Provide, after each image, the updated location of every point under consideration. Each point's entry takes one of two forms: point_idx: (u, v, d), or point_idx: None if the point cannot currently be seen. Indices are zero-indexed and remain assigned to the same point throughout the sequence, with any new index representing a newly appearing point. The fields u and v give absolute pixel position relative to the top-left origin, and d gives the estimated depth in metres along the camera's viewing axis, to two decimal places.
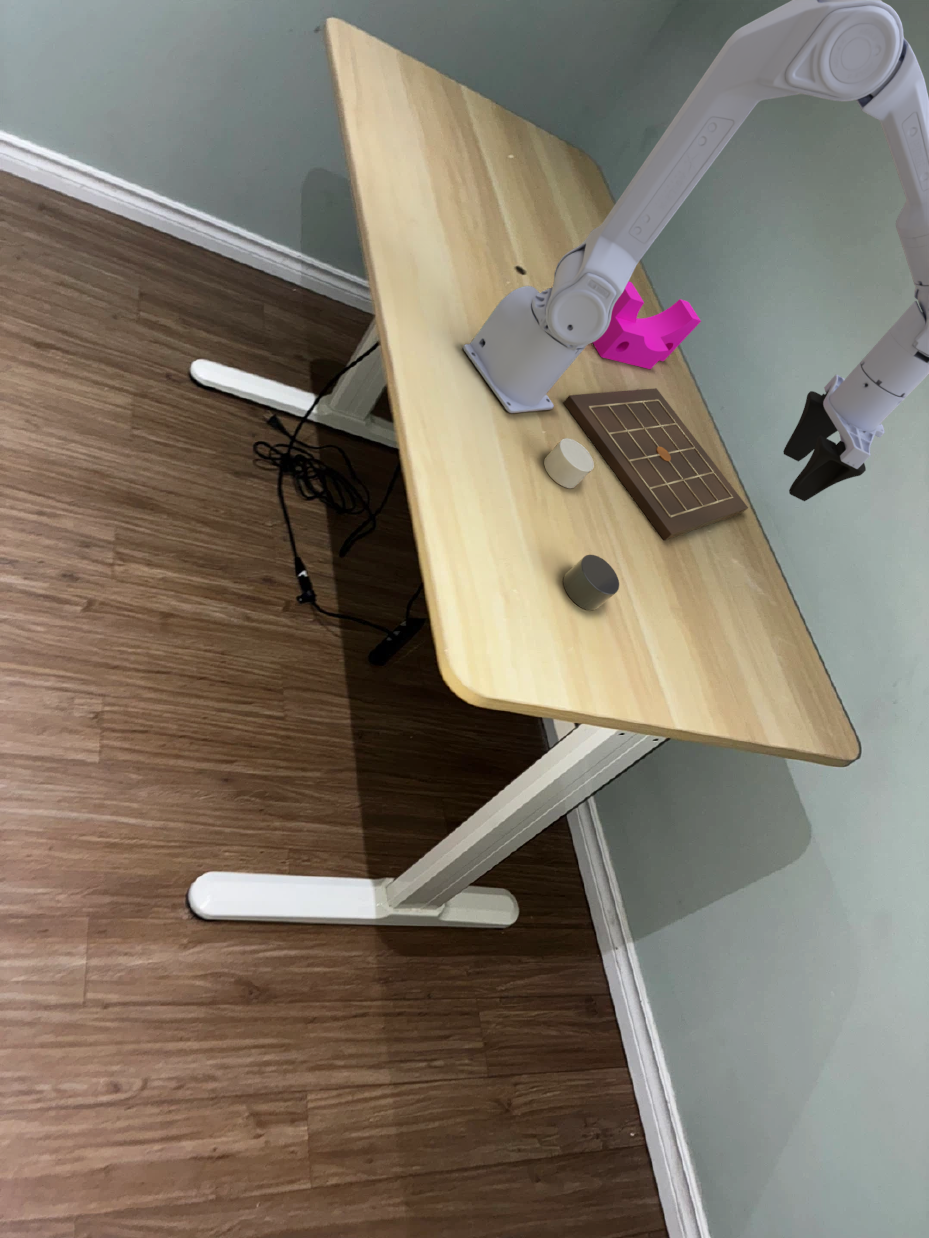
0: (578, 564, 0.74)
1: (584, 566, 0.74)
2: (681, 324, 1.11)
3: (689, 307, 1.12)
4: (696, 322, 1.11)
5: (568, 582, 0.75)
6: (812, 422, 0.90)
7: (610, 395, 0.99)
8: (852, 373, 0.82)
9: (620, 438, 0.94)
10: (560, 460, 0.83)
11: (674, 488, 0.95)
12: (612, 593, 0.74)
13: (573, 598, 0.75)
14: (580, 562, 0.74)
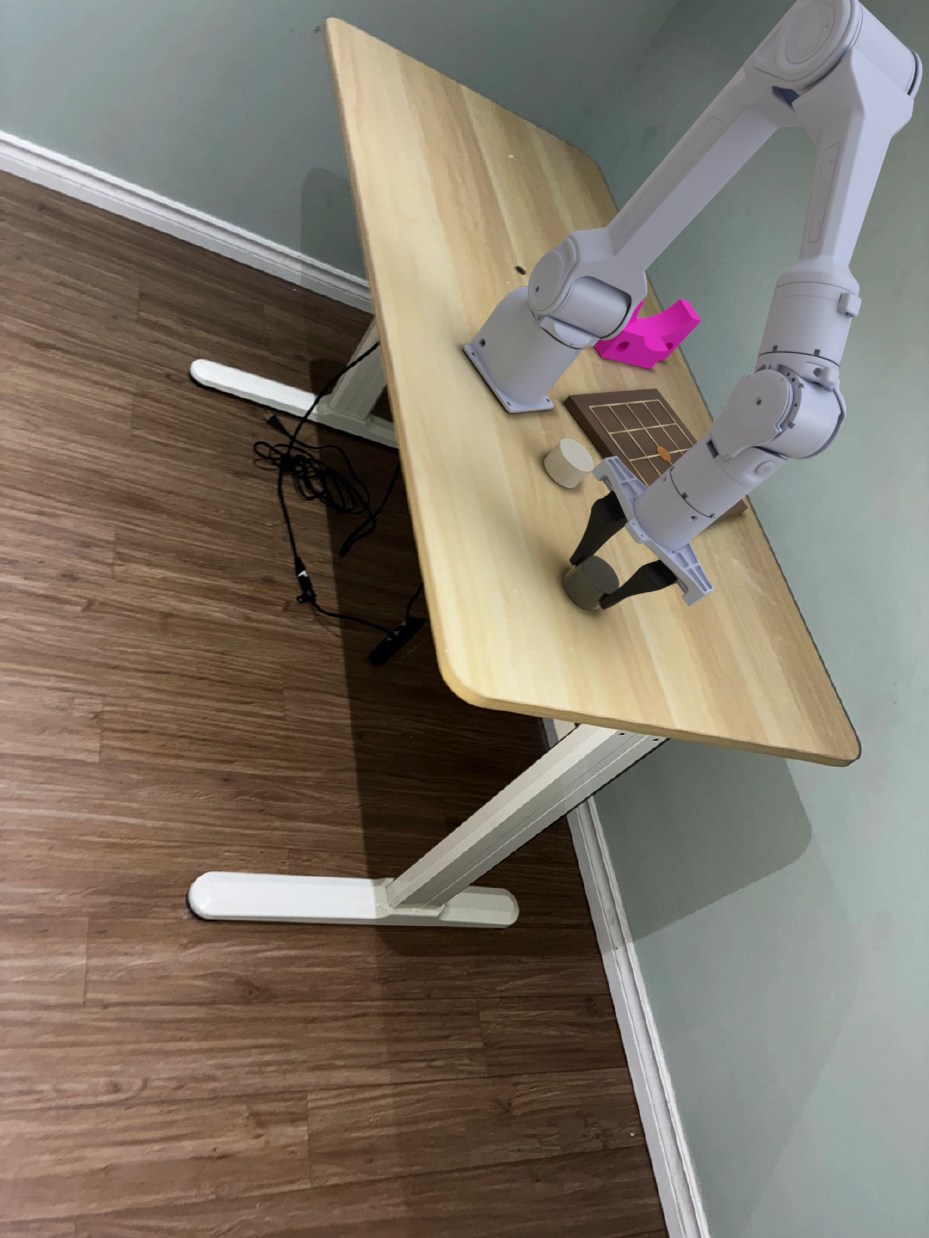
0: (578, 564, 0.74)
1: (584, 566, 0.74)
2: (681, 324, 1.11)
3: (689, 307, 1.12)
4: (696, 322, 1.11)
5: (569, 582, 0.75)
6: None
7: (610, 395, 0.99)
8: None
9: (620, 438, 0.94)
10: (560, 460, 0.83)
11: None
12: None
13: (573, 598, 0.75)
14: (580, 562, 0.74)
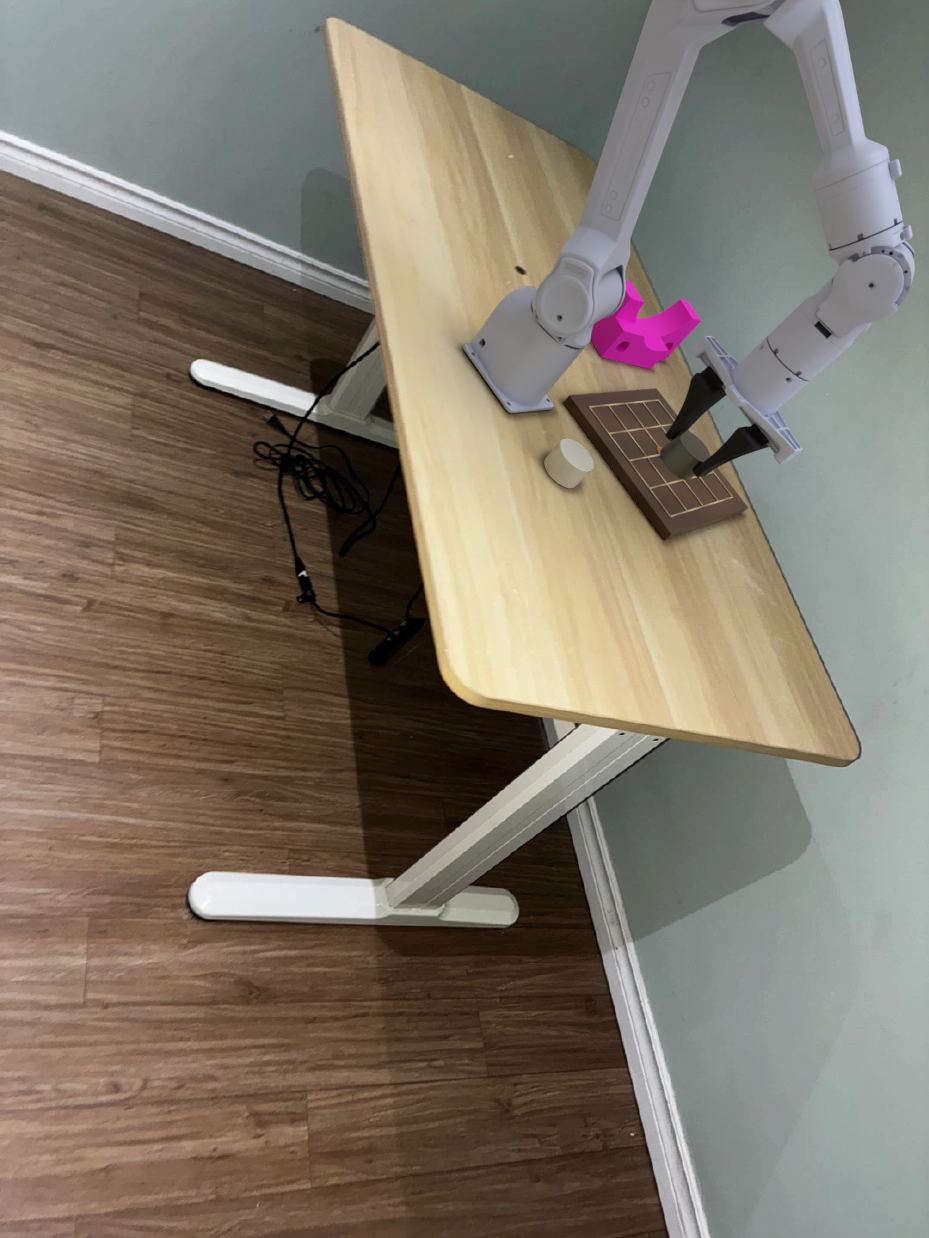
0: (675, 437, 0.83)
1: (681, 438, 0.82)
2: (681, 324, 1.11)
3: (689, 307, 1.12)
4: (696, 322, 1.11)
5: (666, 453, 0.83)
6: None
7: (610, 395, 0.99)
8: None
9: (620, 438, 0.94)
10: (560, 460, 0.83)
11: (674, 488, 0.95)
12: None
13: (670, 468, 0.83)
14: (676, 435, 0.83)
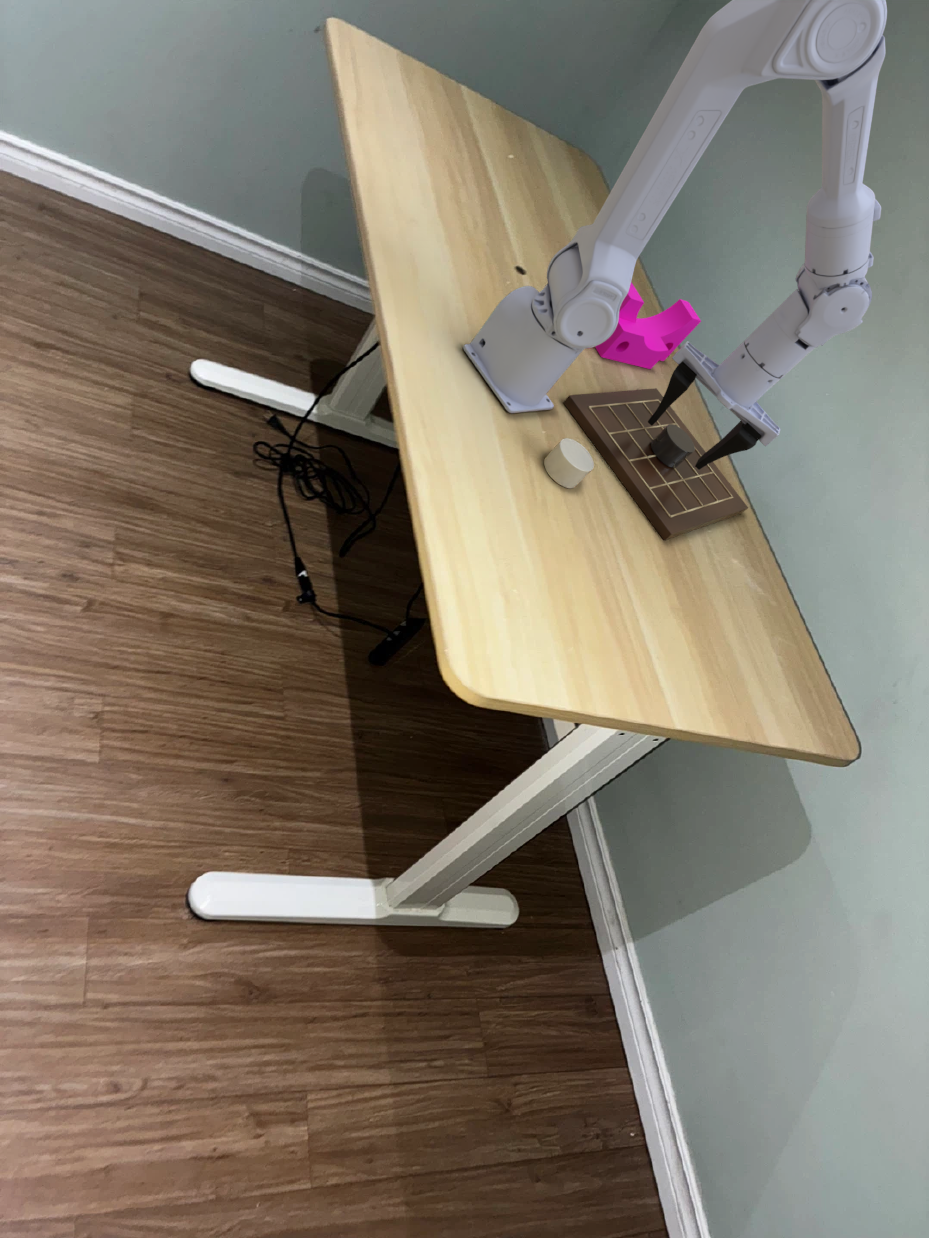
0: (664, 435, 0.95)
1: (670, 435, 0.95)
2: (681, 324, 1.11)
3: (689, 307, 1.12)
4: (696, 322, 1.11)
5: (659, 450, 0.96)
6: (728, 434, 0.94)
7: (610, 395, 0.99)
8: None
9: (620, 438, 0.94)
10: (560, 460, 0.83)
11: (674, 488, 0.95)
12: (693, 451, 0.96)
13: (664, 462, 0.96)
14: (665, 432, 0.95)
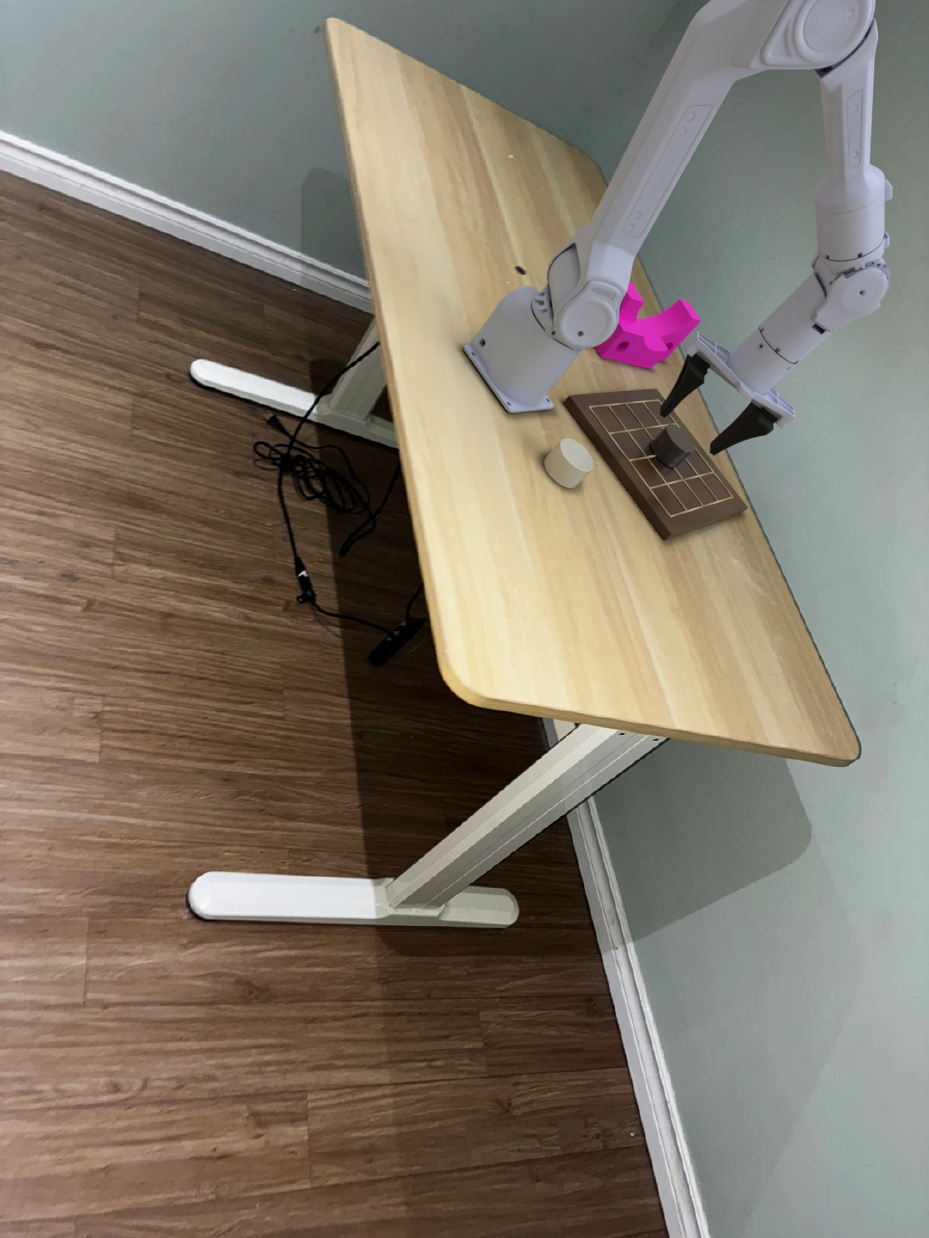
0: (664, 435, 0.95)
1: (670, 435, 0.95)
2: (681, 324, 1.11)
3: (689, 307, 1.12)
4: (696, 322, 1.11)
5: (659, 450, 0.96)
6: (741, 418, 0.93)
7: (610, 395, 0.99)
8: None
9: (620, 438, 0.94)
10: (560, 460, 0.83)
11: (674, 488, 0.95)
12: (693, 451, 0.96)
13: (664, 462, 0.96)
14: (665, 432, 0.95)
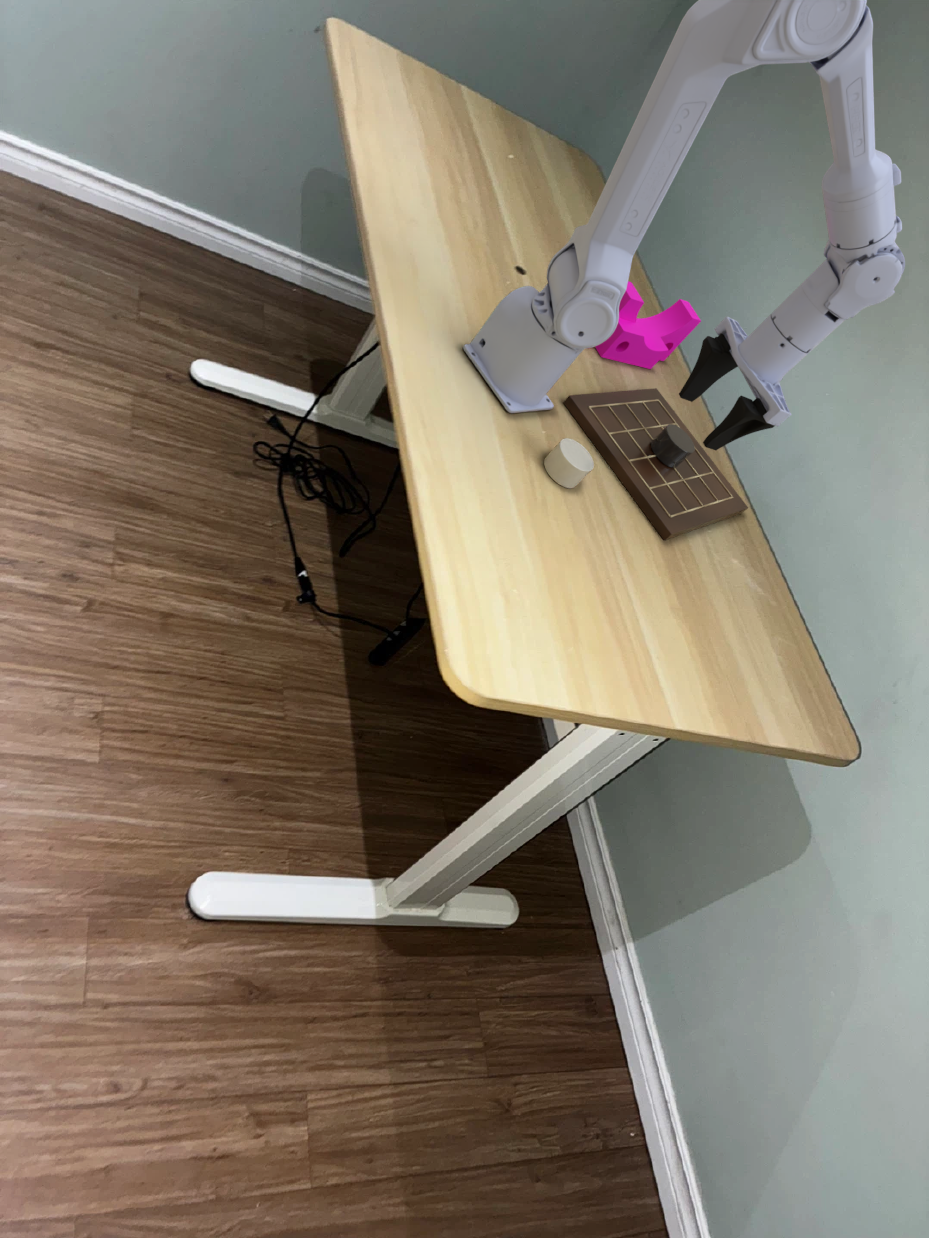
0: (664, 435, 0.95)
1: (670, 435, 0.95)
2: (681, 324, 1.11)
3: (689, 307, 1.12)
4: (696, 322, 1.11)
5: (659, 450, 0.96)
6: (710, 367, 0.92)
7: (610, 395, 0.99)
8: (765, 330, 0.84)
9: (620, 438, 0.94)
10: (560, 460, 0.83)
11: (674, 488, 0.95)
12: (693, 451, 0.96)
13: (664, 462, 0.96)
14: (665, 432, 0.95)
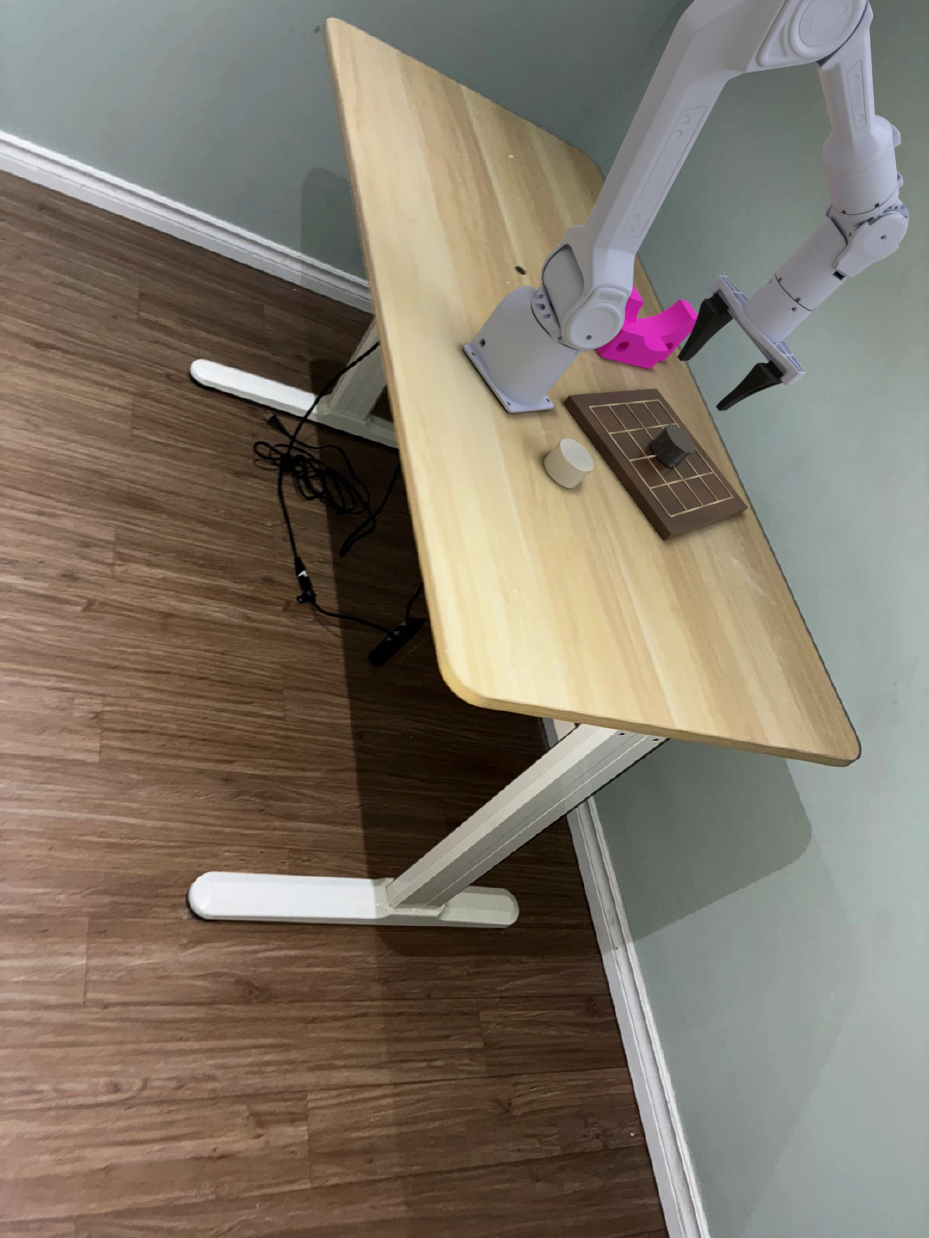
0: (664, 435, 0.95)
1: (670, 435, 0.95)
2: (681, 324, 1.11)
3: (689, 307, 1.12)
4: None
5: (659, 450, 0.96)
6: (709, 329, 0.92)
7: (610, 395, 0.99)
8: (774, 296, 0.85)
9: (620, 438, 0.94)
10: (560, 460, 0.83)
11: (674, 488, 0.95)
12: (693, 451, 0.96)
13: (664, 462, 0.96)
14: (665, 432, 0.95)
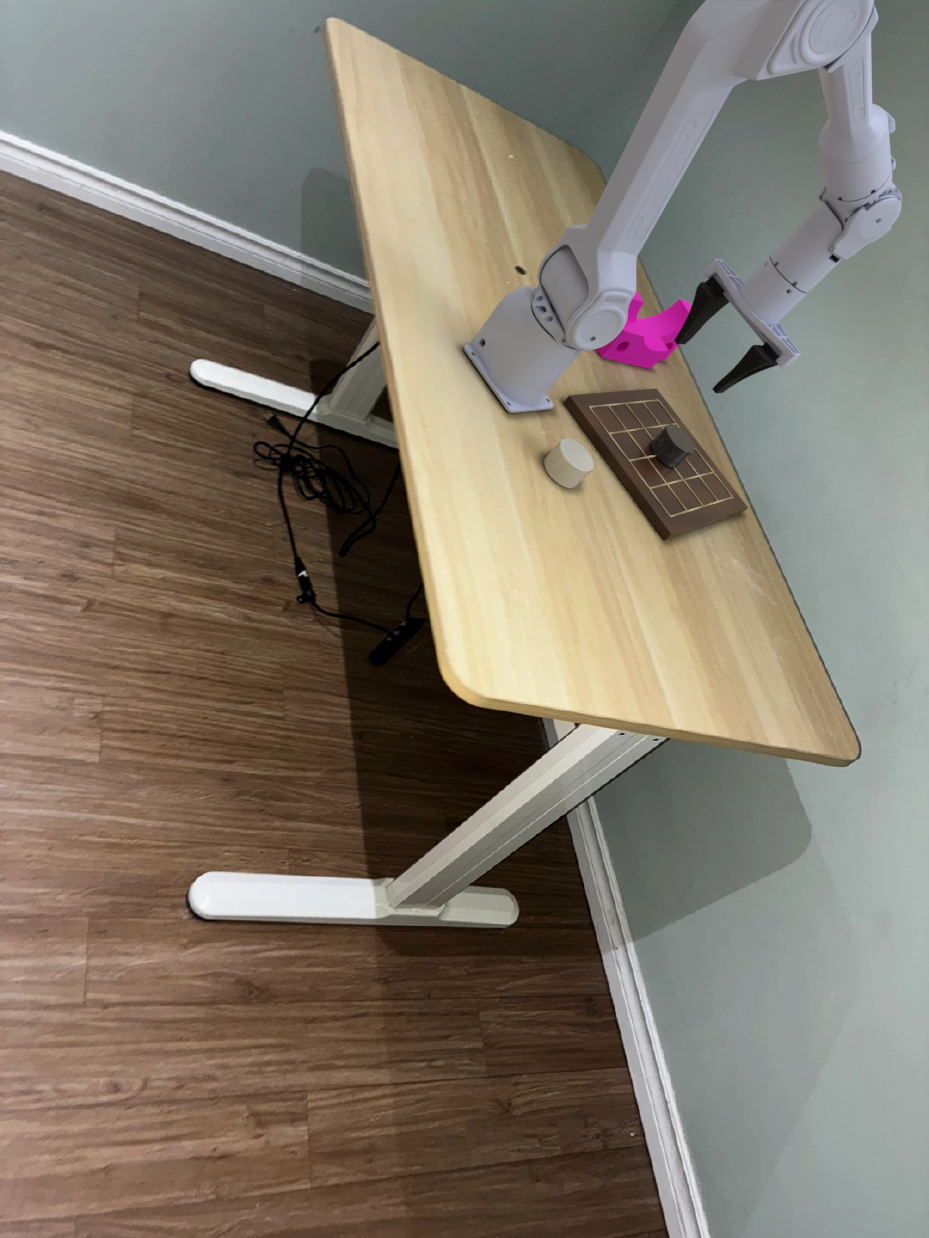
0: (664, 435, 0.95)
1: (670, 435, 0.95)
2: (681, 324, 1.11)
3: (689, 307, 1.12)
4: None
5: (659, 450, 0.96)
6: (705, 312, 0.94)
7: (610, 395, 0.99)
8: (769, 278, 0.86)
9: (620, 438, 0.94)
10: (560, 460, 0.83)
11: (674, 488, 0.95)
12: (693, 451, 0.96)
13: (664, 462, 0.96)
14: (665, 432, 0.95)
